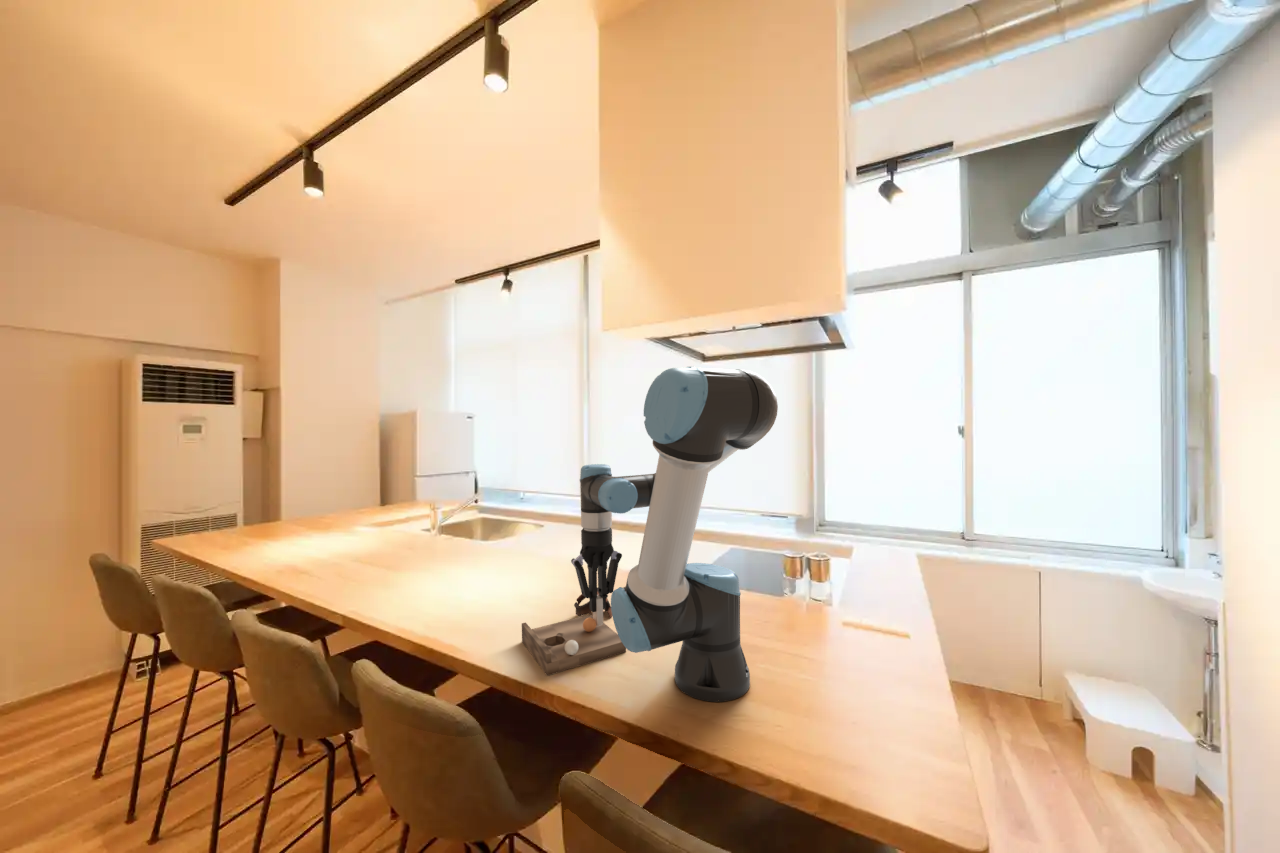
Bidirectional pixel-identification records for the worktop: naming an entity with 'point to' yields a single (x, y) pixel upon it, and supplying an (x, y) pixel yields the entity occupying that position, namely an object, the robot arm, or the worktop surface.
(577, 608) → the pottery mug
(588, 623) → the ball
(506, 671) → the worktop surface
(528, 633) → the deck
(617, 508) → the robot arm
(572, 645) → the cream ball
